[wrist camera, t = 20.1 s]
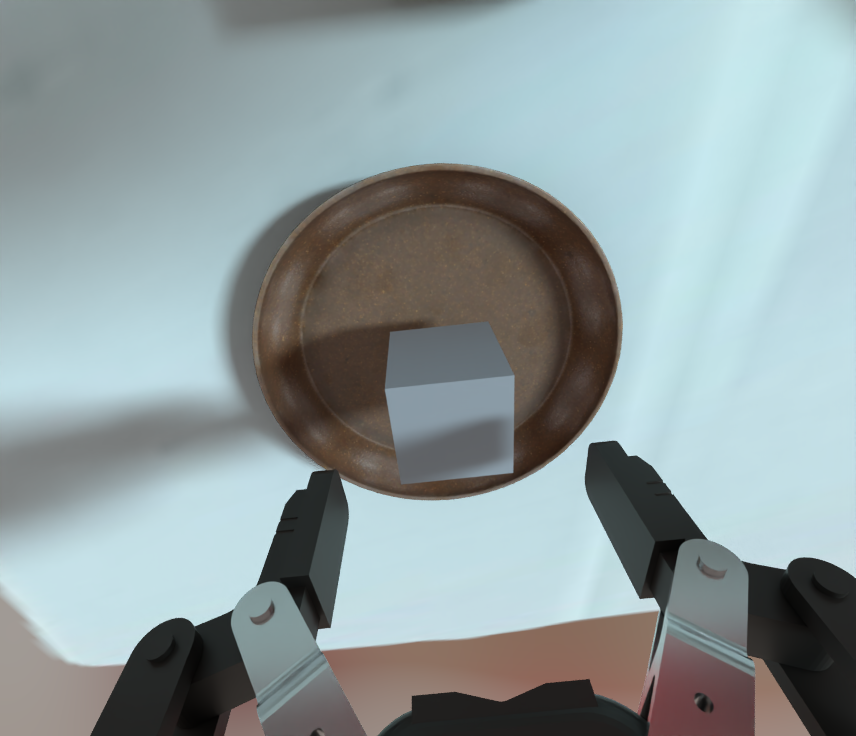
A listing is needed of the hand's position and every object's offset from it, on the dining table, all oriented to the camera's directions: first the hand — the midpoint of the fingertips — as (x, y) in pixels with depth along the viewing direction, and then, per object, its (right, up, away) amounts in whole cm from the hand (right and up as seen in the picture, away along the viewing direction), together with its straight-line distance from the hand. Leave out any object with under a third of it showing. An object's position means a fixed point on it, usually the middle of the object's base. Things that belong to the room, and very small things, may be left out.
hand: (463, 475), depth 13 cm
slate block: (0, +3, +6) cm, 7 cm away
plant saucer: (-1, +5, +9) cm, 11 cm away
